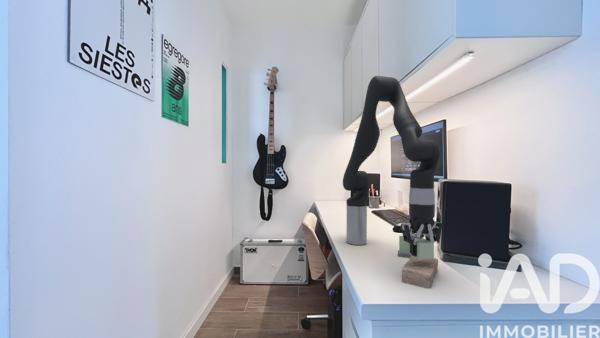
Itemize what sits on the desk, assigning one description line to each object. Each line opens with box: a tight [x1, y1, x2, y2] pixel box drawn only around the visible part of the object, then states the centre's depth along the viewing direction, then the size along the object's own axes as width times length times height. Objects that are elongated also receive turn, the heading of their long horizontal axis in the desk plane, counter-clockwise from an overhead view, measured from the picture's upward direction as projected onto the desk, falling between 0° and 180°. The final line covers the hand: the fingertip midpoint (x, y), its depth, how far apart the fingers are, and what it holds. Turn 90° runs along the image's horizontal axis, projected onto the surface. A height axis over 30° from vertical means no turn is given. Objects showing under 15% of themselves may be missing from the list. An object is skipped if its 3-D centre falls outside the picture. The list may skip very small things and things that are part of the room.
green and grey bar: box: [397, 234, 412, 259], centre depth 105 cm, size 4×8×8 cm, turn 68°
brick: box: [401, 256, 439, 289], centre depth 86 cm, size 17×8×5 cm, turn 146°
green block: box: [410, 238, 435, 260], centre depth 85 cm, size 5×5×5 cm
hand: (421, 254), depth 85 cm, fingers closed on green block, 5 cm apart
